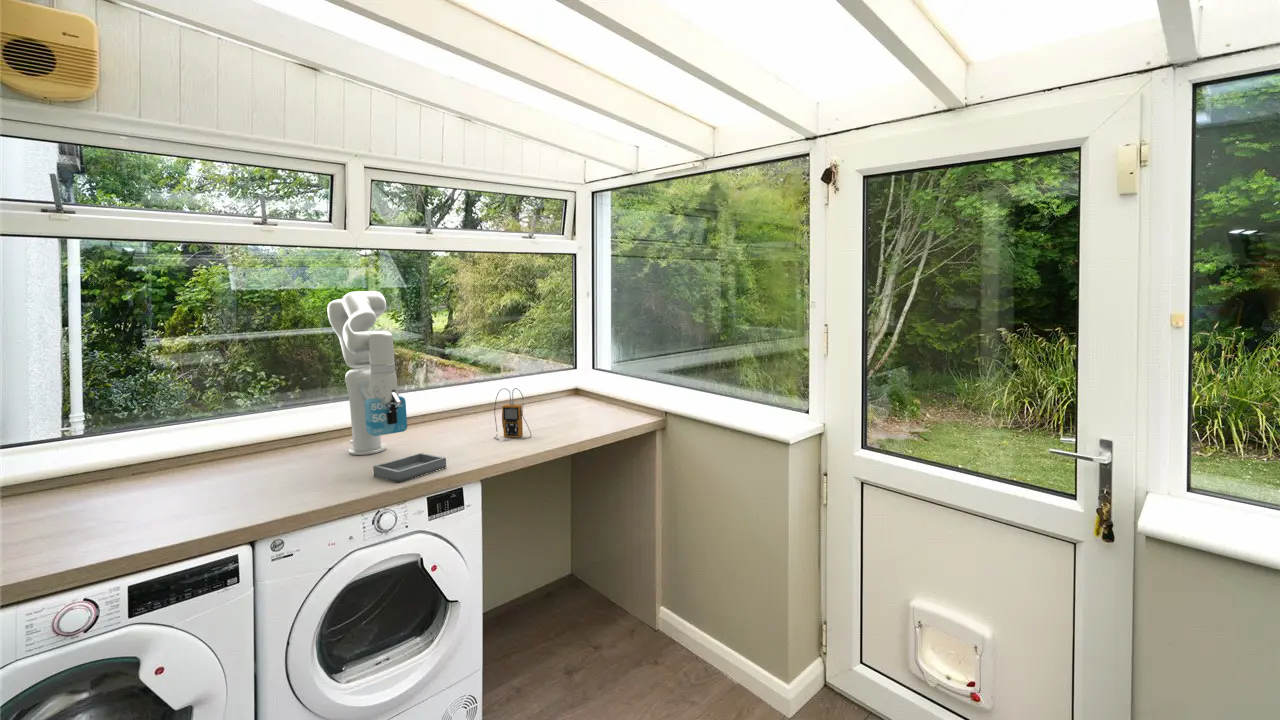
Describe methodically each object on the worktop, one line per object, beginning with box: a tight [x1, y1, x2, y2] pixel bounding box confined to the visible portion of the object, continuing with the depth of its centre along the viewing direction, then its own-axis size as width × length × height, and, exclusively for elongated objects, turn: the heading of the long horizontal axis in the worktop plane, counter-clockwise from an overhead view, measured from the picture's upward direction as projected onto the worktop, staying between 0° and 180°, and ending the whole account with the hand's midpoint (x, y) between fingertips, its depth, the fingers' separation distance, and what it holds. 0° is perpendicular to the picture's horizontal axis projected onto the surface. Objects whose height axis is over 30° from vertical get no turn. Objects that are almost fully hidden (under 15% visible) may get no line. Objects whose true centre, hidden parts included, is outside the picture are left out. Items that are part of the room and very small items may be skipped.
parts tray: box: [372, 452, 447, 484], centre depth 194 cm, size 13×18×4 cm
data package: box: [364, 395, 408, 436], centre depth 199 cm, size 12×4×12 cm, turn 131°
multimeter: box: [493, 387, 532, 442], centre depth 235 cm, size 15×10×20 cm
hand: (386, 422), depth 199 cm, fingers closed on data package, 5 cm apart
